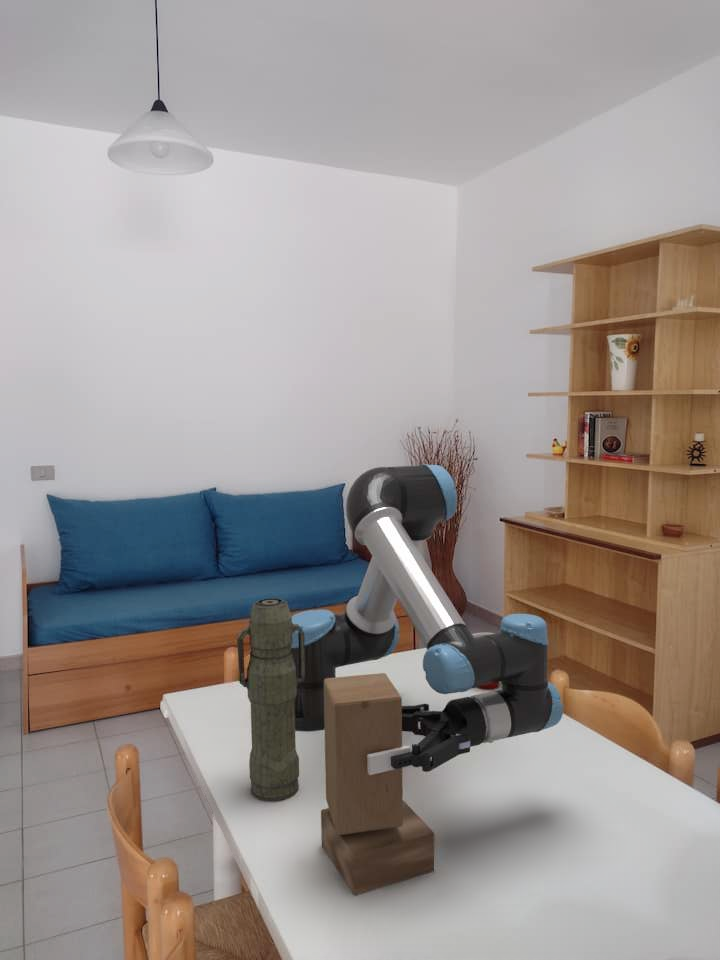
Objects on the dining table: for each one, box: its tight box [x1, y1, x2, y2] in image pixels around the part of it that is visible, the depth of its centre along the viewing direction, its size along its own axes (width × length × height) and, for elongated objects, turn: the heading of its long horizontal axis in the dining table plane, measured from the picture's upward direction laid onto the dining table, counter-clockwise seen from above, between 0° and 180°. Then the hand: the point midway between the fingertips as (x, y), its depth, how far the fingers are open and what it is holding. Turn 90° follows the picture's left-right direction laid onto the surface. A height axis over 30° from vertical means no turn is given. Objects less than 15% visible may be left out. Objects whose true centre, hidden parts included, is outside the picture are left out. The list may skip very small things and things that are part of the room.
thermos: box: [236, 597, 305, 803], centre depth 130 cm, size 9×12×35 cm
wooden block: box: [324, 672, 404, 835], centre depth 109 cm, size 10×10×20 cm
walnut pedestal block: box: [320, 800, 435, 896], centre depth 111 cm, size 13×13×6 cm
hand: (351, 747), depth 108 cm, fingers closed on wooden block, 11 cm apart
